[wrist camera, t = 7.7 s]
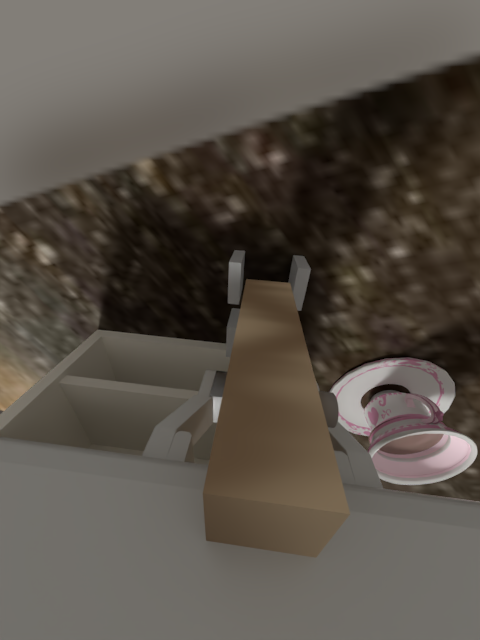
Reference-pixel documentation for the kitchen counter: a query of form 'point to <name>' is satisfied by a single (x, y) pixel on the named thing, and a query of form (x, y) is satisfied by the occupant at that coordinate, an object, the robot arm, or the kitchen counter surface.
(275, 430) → the door
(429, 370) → the teacup
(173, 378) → the cabinet
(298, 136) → the kitchen counter surface
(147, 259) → the kitchen counter surface
